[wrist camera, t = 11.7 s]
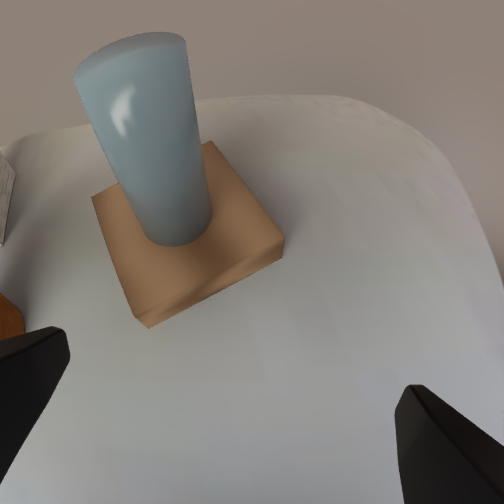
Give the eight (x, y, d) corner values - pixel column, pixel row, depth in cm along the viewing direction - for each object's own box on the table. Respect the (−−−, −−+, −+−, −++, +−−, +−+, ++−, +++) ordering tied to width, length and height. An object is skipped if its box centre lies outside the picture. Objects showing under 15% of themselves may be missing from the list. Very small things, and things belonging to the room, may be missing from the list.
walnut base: (148, 328, 21) (133, 316, 19) (104, 217, 26) (91, 197, 23) (281, 257, 24) (285, 237, 21) (214, 164, 28) (211, 140, 26)
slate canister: (179, 260, 20) (115, 97, 9) (127, 223, 22) (54, 78, 11) (227, 205, 23) (210, 39, 11) (173, 176, 24) (136, 28, 13)
